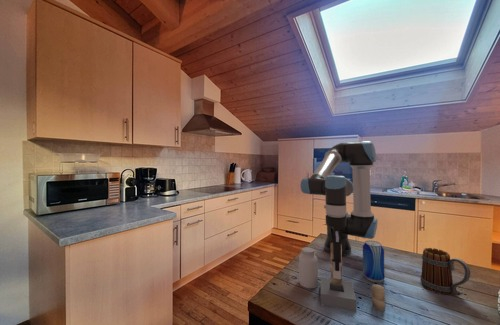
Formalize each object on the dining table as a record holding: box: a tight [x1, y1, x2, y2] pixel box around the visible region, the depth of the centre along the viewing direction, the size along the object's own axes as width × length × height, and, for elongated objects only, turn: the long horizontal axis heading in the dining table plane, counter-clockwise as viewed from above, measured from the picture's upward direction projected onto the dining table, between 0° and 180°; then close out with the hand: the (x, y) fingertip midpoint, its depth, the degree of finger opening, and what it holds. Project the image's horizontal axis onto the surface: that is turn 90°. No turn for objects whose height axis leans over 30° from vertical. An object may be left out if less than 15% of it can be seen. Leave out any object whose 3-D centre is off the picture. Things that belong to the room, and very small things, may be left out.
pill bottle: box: [298, 246, 319, 289], centre depth 91 cm, size 8×8×15 cm
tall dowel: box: [330, 243, 343, 286], centre depth 82 cm, size 4×4×15 cm
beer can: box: [362, 239, 385, 283], centre depth 95 cm, size 8×8×16 cm
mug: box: [420, 247, 471, 296], centre depth 85 cm, size 16×11×15 cm
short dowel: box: [371, 284, 386, 312], centre depth 76 cm, size 4×4×7 cm
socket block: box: [319, 276, 357, 312], centre depth 82 cm, size 12×12×4 cm
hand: (336, 274), depth 82 cm, fingers closed on tall dowel, 4 cm apart
